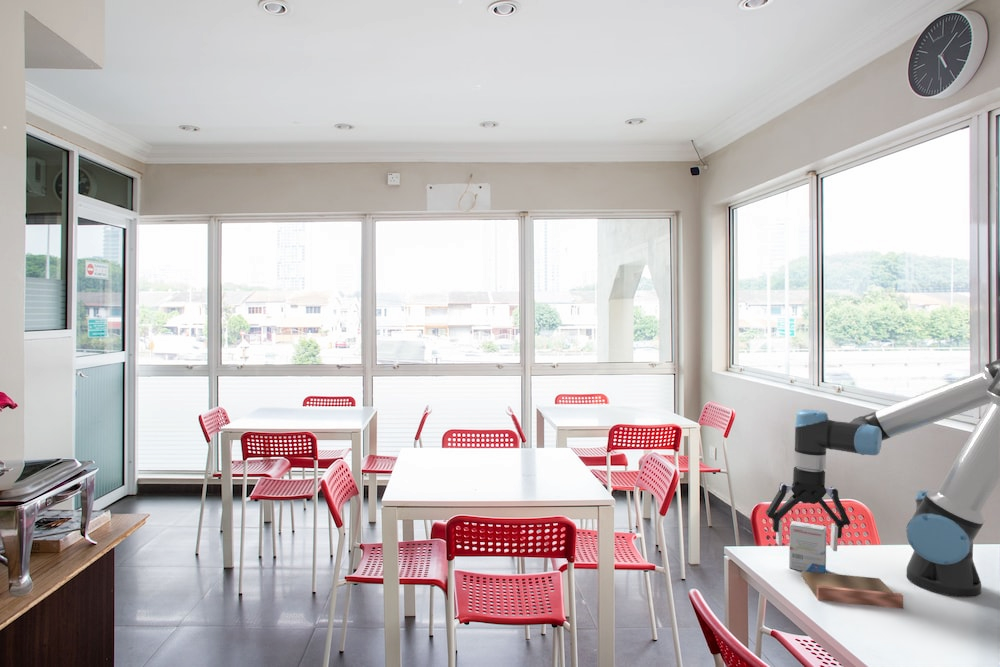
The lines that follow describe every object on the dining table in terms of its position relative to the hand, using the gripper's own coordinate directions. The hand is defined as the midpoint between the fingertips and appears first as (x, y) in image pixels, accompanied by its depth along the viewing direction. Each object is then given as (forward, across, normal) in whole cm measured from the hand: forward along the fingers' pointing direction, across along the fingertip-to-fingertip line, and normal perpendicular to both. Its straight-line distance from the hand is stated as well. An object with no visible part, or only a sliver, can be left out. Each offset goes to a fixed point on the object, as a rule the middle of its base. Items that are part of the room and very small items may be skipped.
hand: (805, 546), depth 158 cm
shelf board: (+6, -6, +12) cm, 15 cm away
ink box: (+6, 0, 0) cm, 6 cm away
